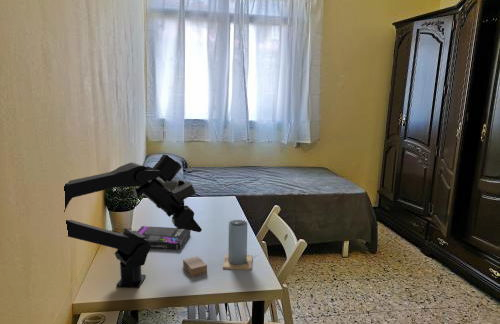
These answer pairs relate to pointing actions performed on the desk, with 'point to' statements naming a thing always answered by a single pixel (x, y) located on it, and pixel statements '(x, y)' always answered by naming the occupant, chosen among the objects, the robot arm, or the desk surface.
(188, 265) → the walnut block
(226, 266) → the coaster
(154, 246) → the box
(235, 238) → the tumbler
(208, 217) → the desk surface
